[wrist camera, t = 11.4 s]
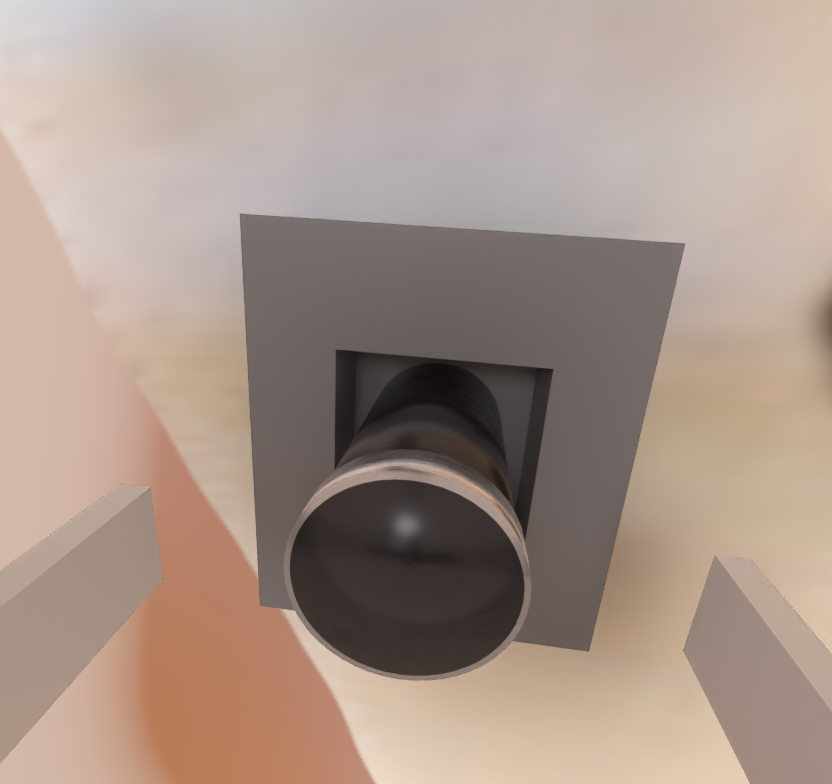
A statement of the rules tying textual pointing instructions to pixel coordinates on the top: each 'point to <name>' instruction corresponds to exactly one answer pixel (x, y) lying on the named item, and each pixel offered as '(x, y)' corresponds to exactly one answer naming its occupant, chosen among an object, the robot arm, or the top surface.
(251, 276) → the grey recessed frame block
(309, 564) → the lens
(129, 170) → the top surface
